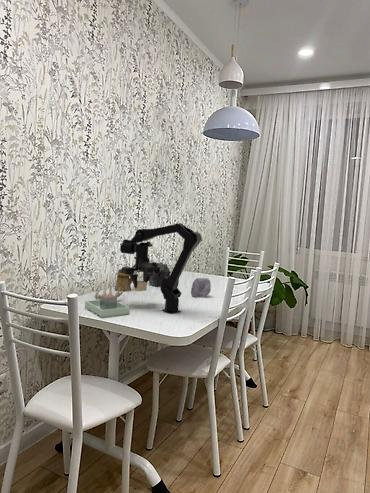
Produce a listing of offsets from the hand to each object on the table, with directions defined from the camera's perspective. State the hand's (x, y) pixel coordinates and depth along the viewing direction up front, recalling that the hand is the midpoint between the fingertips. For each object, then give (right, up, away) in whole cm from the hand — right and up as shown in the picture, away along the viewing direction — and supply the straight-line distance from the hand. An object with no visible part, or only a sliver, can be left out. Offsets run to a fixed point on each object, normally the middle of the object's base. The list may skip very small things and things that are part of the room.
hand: (140, 287), depth 183 cm
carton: (0, -1, 0) cm, 1 cm away
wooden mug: (-12, -5, +36) cm, 38 cm away
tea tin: (-13, -9, -11) cm, 19 cm away
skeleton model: (-18, -7, +12) cm, 23 cm away
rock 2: (+30, -9, +30) cm, 43 cm away
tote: (-14, -9, -12) cm, 20 cm away
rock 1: (+5, -5, +55) cm, 55 cm away
